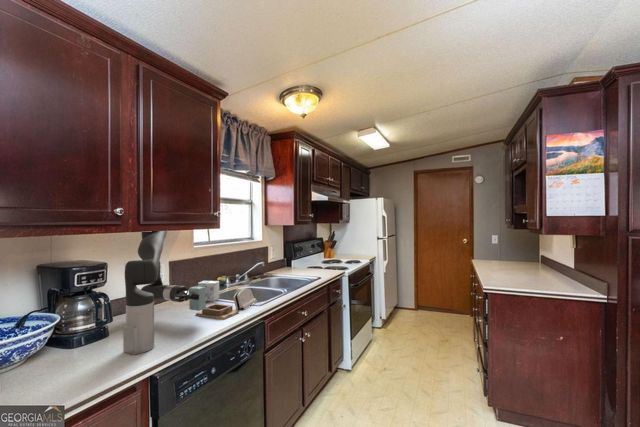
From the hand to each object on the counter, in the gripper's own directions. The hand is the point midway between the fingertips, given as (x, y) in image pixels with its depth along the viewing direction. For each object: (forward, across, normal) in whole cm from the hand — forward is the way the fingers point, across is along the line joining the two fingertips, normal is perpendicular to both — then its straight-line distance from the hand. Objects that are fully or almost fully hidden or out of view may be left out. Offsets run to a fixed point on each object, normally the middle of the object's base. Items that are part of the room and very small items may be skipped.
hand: (202, 296), depth 143 cm
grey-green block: (-3, 0, +6) cm, 7 cm away
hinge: (-1, +32, +13) cm, 35 cm away
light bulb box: (-29, +34, +12) cm, 47 cm away
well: (-4, +14, +12) cm, 19 cm away
